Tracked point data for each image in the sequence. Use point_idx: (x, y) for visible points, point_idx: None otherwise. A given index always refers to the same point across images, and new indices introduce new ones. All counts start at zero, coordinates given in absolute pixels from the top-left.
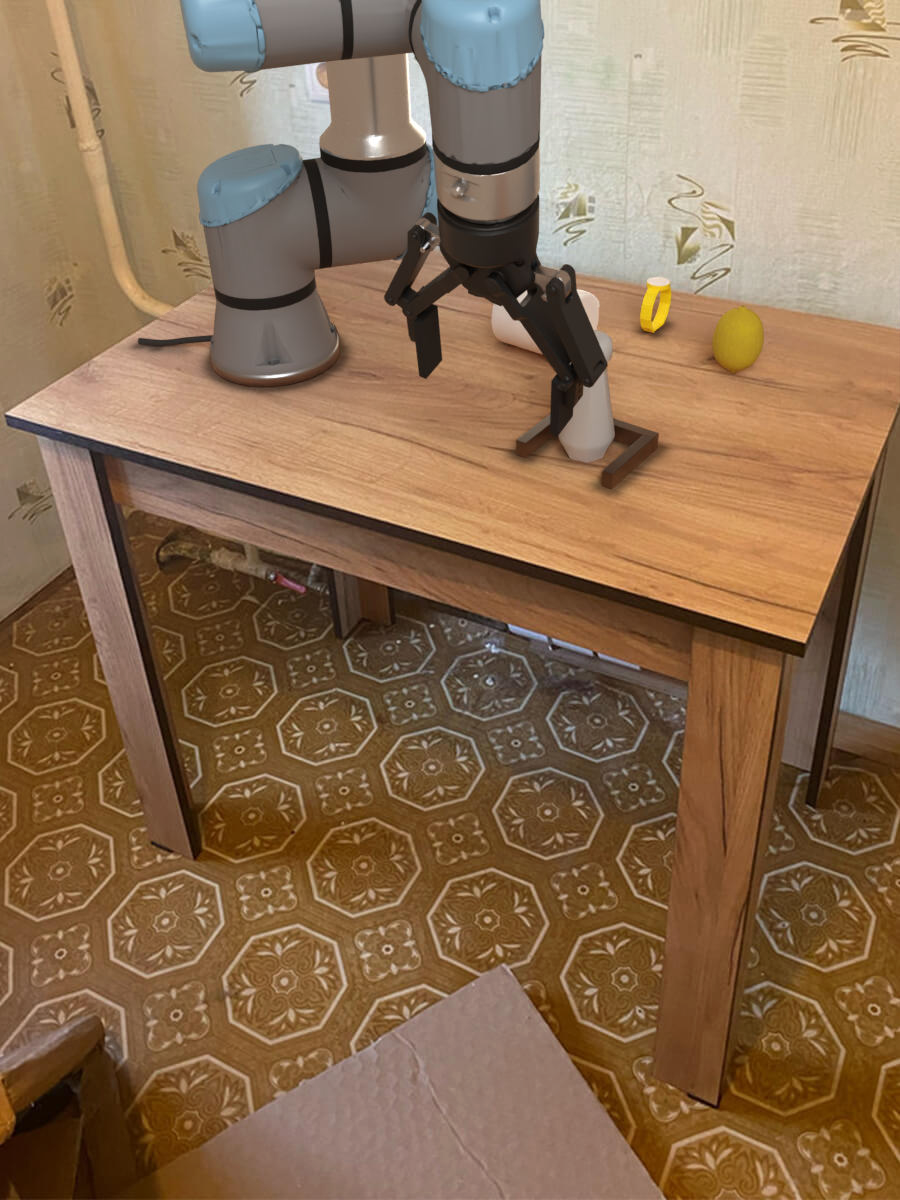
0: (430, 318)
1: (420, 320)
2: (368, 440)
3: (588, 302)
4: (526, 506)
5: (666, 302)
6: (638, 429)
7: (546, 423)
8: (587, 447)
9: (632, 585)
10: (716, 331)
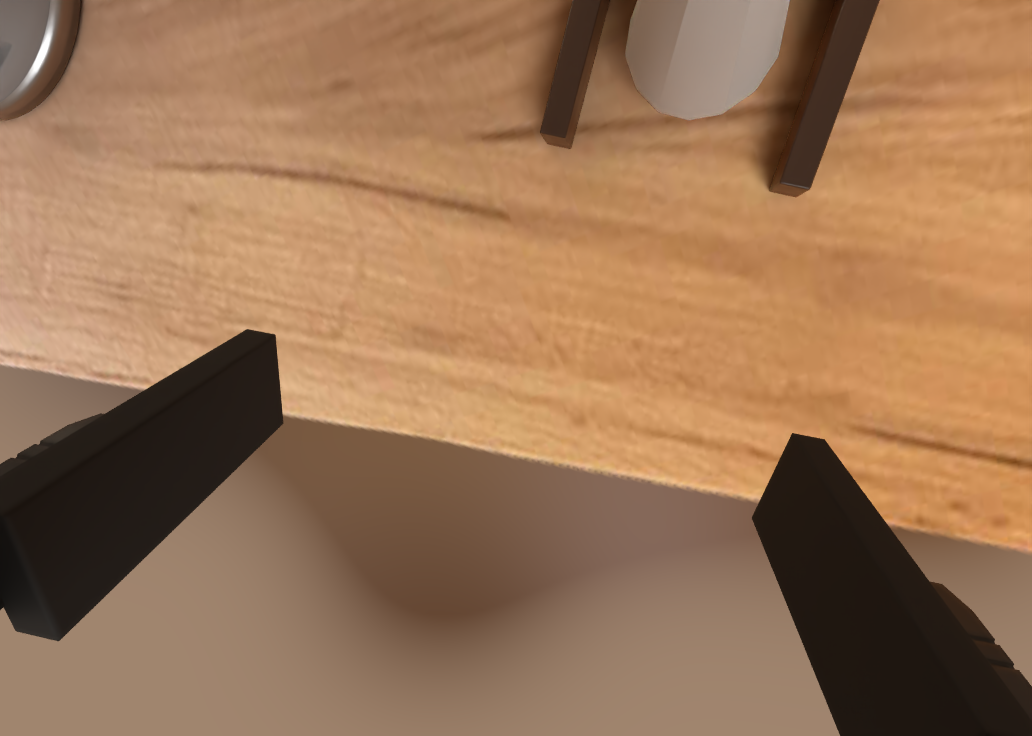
0: (59, 553)
1: (30, 616)
2: (269, 207)
3: None
4: (627, 320)
5: None
6: None
7: (585, 26)
8: (723, 111)
9: (911, 510)
10: None
